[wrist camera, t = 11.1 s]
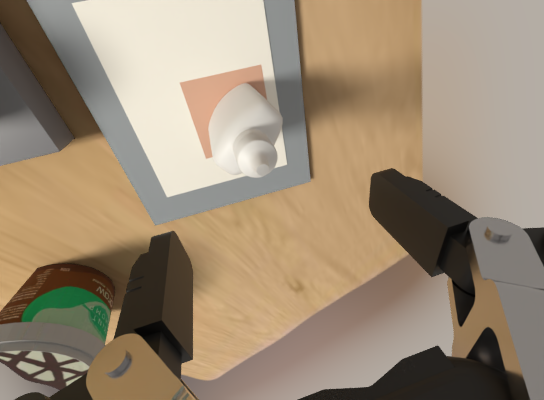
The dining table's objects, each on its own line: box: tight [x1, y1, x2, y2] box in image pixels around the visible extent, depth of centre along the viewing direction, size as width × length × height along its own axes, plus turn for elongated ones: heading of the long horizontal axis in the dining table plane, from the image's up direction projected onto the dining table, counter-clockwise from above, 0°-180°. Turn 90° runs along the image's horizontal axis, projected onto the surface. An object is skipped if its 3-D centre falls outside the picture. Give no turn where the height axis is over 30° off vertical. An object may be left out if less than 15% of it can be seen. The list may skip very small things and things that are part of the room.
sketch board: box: [27, 0, 311, 225], centre depth 23 cm, size 22×18×1 cm
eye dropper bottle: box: [208, 83, 283, 178], centre depth 18 cm, size 4×6×12 cm
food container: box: [0, 264, 115, 390], centre depth 26 cm, size 12×6×10 cm, turn 14°
